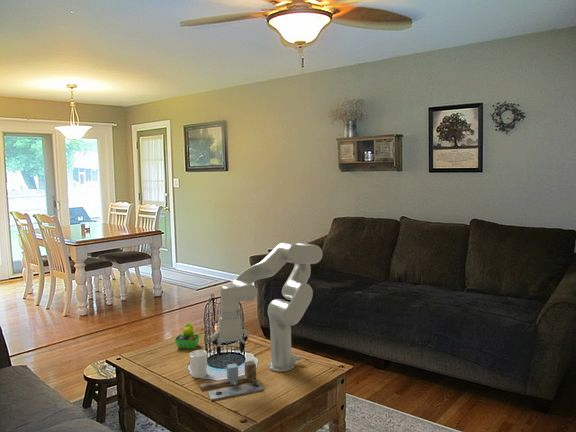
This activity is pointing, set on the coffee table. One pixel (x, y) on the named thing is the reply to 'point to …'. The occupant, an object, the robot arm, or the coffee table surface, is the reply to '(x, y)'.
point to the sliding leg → (232, 374)
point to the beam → (249, 376)
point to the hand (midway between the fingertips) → (230, 353)
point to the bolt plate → (235, 391)
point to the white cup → (198, 363)
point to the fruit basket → (187, 338)
